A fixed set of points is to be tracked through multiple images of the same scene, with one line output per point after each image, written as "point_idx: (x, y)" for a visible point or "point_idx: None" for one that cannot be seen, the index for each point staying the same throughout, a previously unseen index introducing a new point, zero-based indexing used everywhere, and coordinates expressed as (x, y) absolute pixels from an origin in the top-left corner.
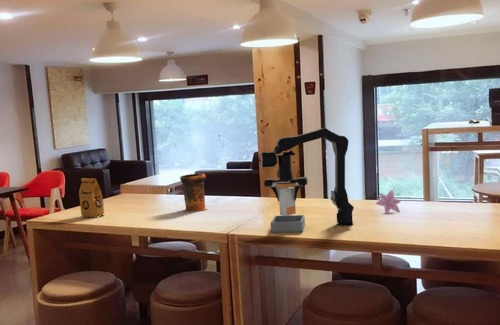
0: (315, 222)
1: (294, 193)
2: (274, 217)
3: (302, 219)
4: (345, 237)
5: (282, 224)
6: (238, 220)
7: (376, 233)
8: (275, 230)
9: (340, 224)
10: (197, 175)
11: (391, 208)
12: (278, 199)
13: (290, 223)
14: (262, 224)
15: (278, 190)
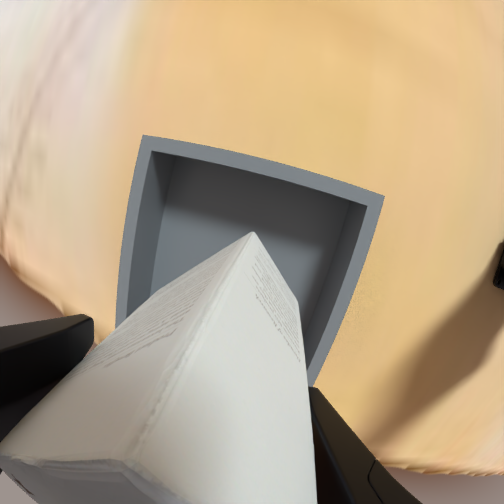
0: (429, 162)
1: (311, 463)
2: (134, 198)
3: (329, 344)
4: (415, 443)
5: None
6: (45, 28)
7: (499, 408)
8: None
9: (499, 287)
10: None
11: None
12: (74, 360)
13: None
14: (108, 107)
15: (6, 441)
